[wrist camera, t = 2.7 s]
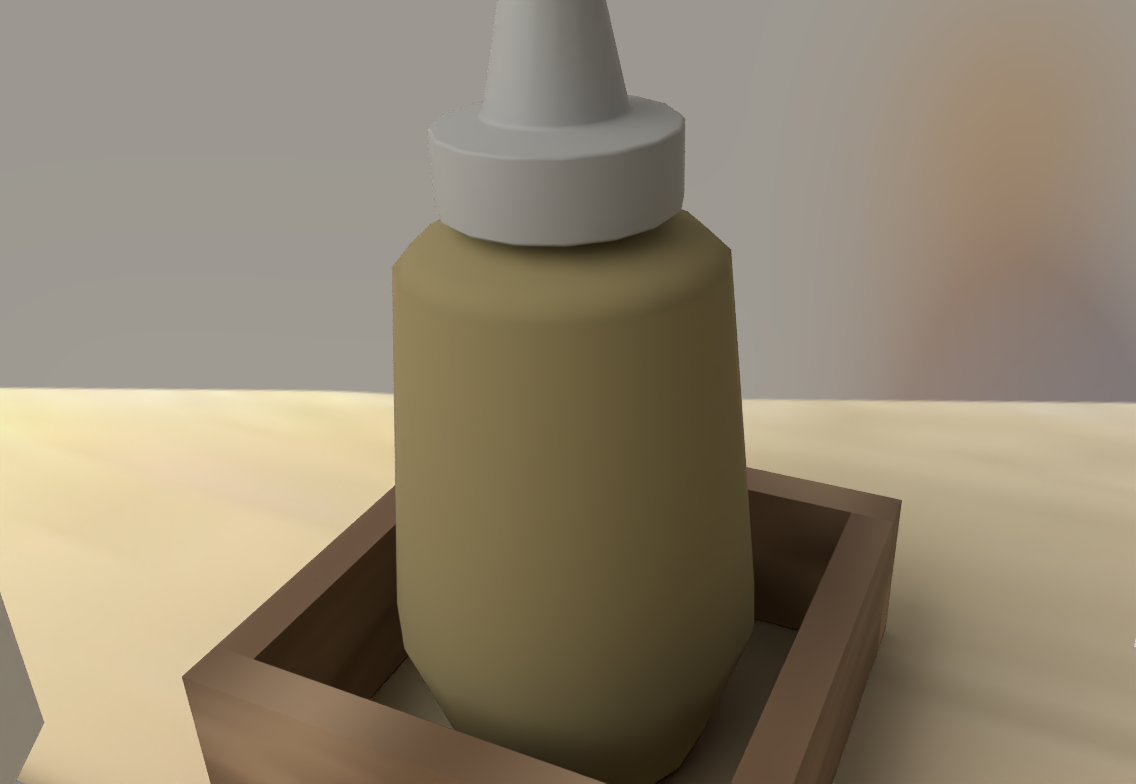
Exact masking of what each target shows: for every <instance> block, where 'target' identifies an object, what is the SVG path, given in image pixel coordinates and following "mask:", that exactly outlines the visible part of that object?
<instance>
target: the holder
mask: <svg viewBox="0 0 1136 784" xmlns="http://www.w3.org/2000/svg"><path fill="white" fill-rule="evenodd" d="M746 471H747V486H748V500H749V514H750V529H751V543H752V557H753V572H754V618H756V619H760V620H764V621H767V622H771V623H775V624H779V625H782V626H786V627H790V628H793V629H797V630H799V631H798V634H797V636H796V638H795V640H794V643H793V645H792V647H791V649H790V652H789V654H788V656H787V658H786V661H785V663H784V665H783V667H782V669H781V672H780V674H779V676H778V678H777V681H776V683H775V685H774V687H773V690H772V692H771V694H770V696H769V699H768V701H767V703H766V705H765V708H764V710H763V712H762V714H761V717H760V719H759V721H758V723H757V726H756V728H755V730H754V732H753V735H752V737H751V739H750V741H749V744H748V746H747V748H746V750H745V753H744V755H743V757H742V759H741V762H740V764H739V766H738V768H737V771H736V773H735V775H734V777H733V780H732V782H731V784H832V781H833V778H834V776H835V773H836V770H837V767H838V764H839V761H840V758H841V755H842V752H843V749H844V746H845V744H846V741H847V738H848V735H849V732H850V729H851V726H852V723H853V720H854V717H855V714H856V712H857V709H858V706H859V703H860V700H861V697H862V694H863V691H864V688H865V685H866V683H867V680H868V677H869V674H870V671H871V668H872V665H873V662H874V659H875V656H876V653H877V651H878V648H879V645H880V642H881V639H882V636H883V633H884V630H885V627H886V619H887V612H888V604H889V596H890V588H891V580H892V573H893V565H894V557H895V549H896V541H897V534H898V526H899V518H900V510H901V502H902V500H899V499H894V498H889V497H885V496H880V495H875V494H870V493H866V492H861V491H856V490H852V489H847V488H842V487H837V486H833V485H828V484H823V483H819V482H814V481H809V480H804V479H800V478H795V477H790V476H786V475H781V474H776V473H771V472H767V471H762V470H757V469H753V468H748V467H746ZM407 656H408V654H407V652H406V651H405V648H404V642H403V636H402V630H401V624H400V618H399V612H398V606H397V564H396V496H395V486H394V487H393V488H392V489H390V490H389V491H388V492H387V493H386V494H385V495H384V496H383V497H382V498H380V499H379V500H378V501H377V502H376V503H375V504H374V505H373V506H372V507H370V508H369V509H368V510H367V511H366V512H365V513H364V514H363V515H362V516H360V517H359V518H358V519H357V520H356V521H355V522H354V523H353V524H351V525H350V526H349V527H348V528H347V529H346V530H345V531H344V532H343V533H341V534H340V535H339V536H338V537H337V538H336V539H335V540H334V541H333V542H331V543H330V544H329V545H328V546H327V547H326V548H325V549H324V550H323V551H321V552H320V553H319V554H318V555H317V556H316V557H315V558H314V559H313V560H311V561H310V562H309V563H308V564H307V565H306V566H305V567H304V568H302V569H301V570H300V571H299V572H298V573H297V574H296V575H295V576H294V577H292V578H291V579H290V580H289V581H288V582H287V583H286V584H285V585H284V586H282V587H281V588H280V589H279V590H278V591H277V592H276V593H275V594H274V595H272V596H271V597H270V598H269V599H268V600H267V601H266V602H265V603H263V604H262V605H261V606H260V607H259V608H258V609H257V610H256V611H255V612H253V613H252V614H251V615H250V616H249V617H248V618H247V619H246V620H245V621H243V622H242V623H241V624H240V625H239V626H238V627H237V628H236V629H235V630H233V631H232V632H231V633H230V634H229V635H228V636H227V637H226V638H224V639H223V640H222V641H221V642H220V643H219V644H218V645H217V646H216V647H214V648H213V649H212V650H211V651H210V652H209V653H208V654H207V655H206V656H204V657H203V658H202V659H201V660H200V661H199V662H198V663H197V664H196V665H194V666H193V667H192V668H191V669H190V670H189V671H188V672H187V673H185V674H184V675H183V676H182V679H183V682H184V686H185V690H186V693H187V697H188V701H189V705H190V708H191V712H192V716H193V720H194V723H195V727H196V731H197V734H198V738H199V742H200V746H201V749H202V753H203V757H204V760H205V764H206V768H207V772H208V775H209V779H210V783H211V784H606V783H603V782H600V781H598V780H595V779H592V778H589V777H586V776H583V775H581V774H578V773H575V772H572V771H569V770H566V769H563V768H561V767H558V766H555V765H552V764H549V763H546V762H544V761H541V760H538V759H535V758H532V757H529V756H527V755H524V754H521V753H518V752H515V751H512V750H510V749H507V748H504V747H501V746H498V745H495V744H493V743H490V742H487V741H484V740H481V739H478V738H475V737H473V736H470V735H467V734H464V733H461V732H458V731H456V730H453V729H450V728H447V727H444V726H441V725H439V724H436V723H433V722H430V721H427V720H424V719H422V718H419V717H416V716H413V715H410V714H407V713H405V712H402V711H399V710H396V709H393V708H390V707H387V706H385V705H382V704H379V703H376V702H373V701H370V700H369V699H370V698H371V697H372V696H373V695H374V694H375V692H376V691H377V690H378V689H379V688H380V687H381V686H382V684H383V683H384V682H385V681H386V680H387V679H388V678H389V676H390V675H391V674H392V673H393V672H394V671H395V670H396V669H397V667H398V666H399V665H400V664H401V663H402V662H403V661H404V659H405V658H406V657H407Z"/></svg>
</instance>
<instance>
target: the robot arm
mask: <svg viewBox="0 0 1136 784" xmlns="http://www.w3.org/2000/svg"><path fill="white" fill-rule="evenodd" d="M1134 646H1135V648H1136V640H1135V643H1134ZM43 724H44V721H43V718H42V715H41V712H40V709H39V706H38V703H37V700H36V697H35V694H34V691H33V688H32V685H31V682H30V679H29V676H28V673H27V670H26V668H25V665H24V662H23V659H22V656H21V653H20V650H19V647H18V644H17V641H16V638H15V635H14V632H13V629H12V626H11V623H10V620H9V617H8V614H7V612H6V609H5V606H4V603H3V600H2V597H1V594H0V784H15V782H16V780H17V778H18V776H19V773H20V771H21V769H22V767H23V765H24V763H25V761H26V759H27V757H28V755H29V753H30V751H31V749H32V747H33V745H34V743H35V741H36V738H37V736H38V734H39V732H40V730H41V728H42V726H43Z"/></svg>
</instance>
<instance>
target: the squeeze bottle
mask: <svg viewBox="0 0 1136 784" xmlns="http://www.w3.org/2000/svg"><path fill="white" fill-rule="evenodd" d="M427 133H428V144H429V154H430V164H431V174H432V185H433V194H434V204H435V209H436V211H437V213H438V215H439V218H440V220H438V221H436V222H434V223H432V224H430V225H429V226H428V227H427V228H426V229H425V230H424V231H423V232H422V233H421V234H420V235H419V236H418V237H417V238H416V239H415V240H414V241H413V242H412V243H411V244H410V245H409V246H408V248H407V249H406V250H405V252H404V253H403V254H402V255H401V257H400V258H399V259H398V260H397V262H396V263H395V264H394V265H393V267H392V287H393V289H392V290H393V291H392V292H393V360H394V428H395V496H396V564H397V606H398V612H399V618H400V624H401V630H402V636H403V642H404V648H405V651H406V652H407V654H408V655H409V657H410V659H411V660H412V662H413V663H414V665H415V667H416V668H417V670H418V672H419V673H420V675H421V676H422V678H423V680H424V681H425V683H426V684H427V686H428V688H429V689H430V691H431V693H432V694H433V696H434V697H435V699H436V701H437V702H438V704H439V705H440V707H441V709H442V710H443V712H444V714H445V715H446V717H447V718H448V720H449V722H450V723H451V725H452V726H453V728H454V730H456V731H458V732H461V733H464V734H467V735H470V736H473V737H475V738H478V739H481V740H484V741H487V742H490V743H493V744H495V745H498V746H501V747H504V748H507V749H510V750H512V751H515V752H518V753H521V754H524V755H527V756H529V757H532V758H535V759H538V760H541V761H544V762H546V763H549V764H552V765H555V766H558V767H561V768H563V769H566V770H569V771H572V772H575V773H578V774H581V775H583V776H586V777H589V778H592V779H595V780H598V781H600V782H603V783H606V784H654V783H656V782H657V781H659V780H661V779H662V778H664V777H665V776H667V775H668V774H670V773H672V772H673V771H675V770H676V769H678V768H679V767H680V765H681V764H682V762H683V761H684V759H685V758H686V756H687V755H688V753H689V752H690V750H691V748H692V747H693V745H694V744H695V742H696V741H697V739H698V738H699V736H700V735H701V733H702V731H703V729H704V727H705V725H706V723H707V721H708V719H709V717H710V715H711V713H712V711H713V709H714V707H715V705H716V703H717V701H718V699H719V697H720V695H721V693H722V691H723V689H724V687H725V685H726V683H727V681H728V679H729V677H730V675H731V674H732V672H733V670H734V668H735V666H736V664H737V662H738V660H739V658H740V656H741V654H742V652H743V650H744V648H745V646H746V644H747V642H748V640H749V638H750V636H751V634H752V632H753V630H754V572H753V557H752V543H751V529H750V514H749V500H748V486H747V471H746V457H745V443H744V428H743V414H742V400H741V385H740V371H739V357H738V342H737V328H736V313H735V300H734V285H733V272H732V271H733V270H732V257H731V249H730V248H729V247H727V246H726V245H725V244H724V243H723V242H722V241H721V240H720V239H719V238H718V237H717V236H715V235H714V234H713V233H712V232H711V231H710V230H709V229H708V228H707V227H705V226H704V225H703V224H702V223H701V222H700V221H698V220H697V219H696V218H695V217H694V216H692V215H691V214H690V213H689V212H688V211H685V210H682V209H681V208H682V203H683V198H684V167H685V118H684V117H683V116H682V115H681V114H680V113H678V112H677V111H675V110H674V109H673V108H671V107H669V106H668V105H667V104H665V103H661V102H657V101H653V100H649V99H645V98H641V97H638V96H631V95H627V92H626V88H625V83H624V79H623V74H622V70H621V65H620V61H619V57H618V52H617V48H616V43H615V39H614V34H613V30H612V25H611V21H610V16H609V12H608V8H607V4H606V0H497V8H496V14H495V22H494V30H493V37H492V44H491V51H490V58H489V65H488V73H487V80H486V87H485V95H484V101H483V102H478V103H473V104H469V105H467V106H464V107H461V108H459V109H456V110H454V111H451V112H448V113H446V114H443V115H442V116H441V117H440V118H439V119H438V120H437V121H436V122H435V123H434V124H433V125H432V126H431V127H430V129H429V130H428V131H427Z"/></svg>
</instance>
